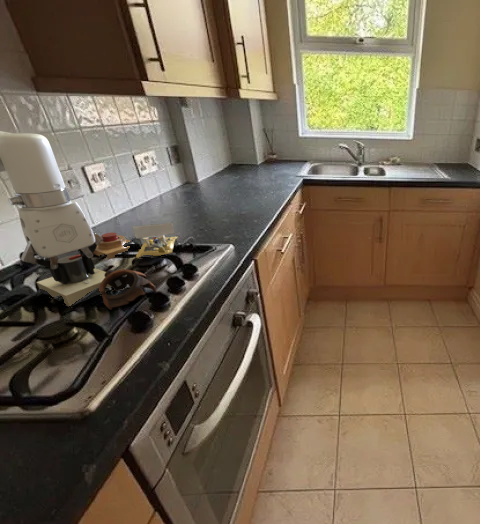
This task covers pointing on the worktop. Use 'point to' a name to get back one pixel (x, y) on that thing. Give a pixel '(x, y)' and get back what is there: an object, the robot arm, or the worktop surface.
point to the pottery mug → (123, 286)
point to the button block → (112, 247)
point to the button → (109, 237)
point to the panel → (72, 287)
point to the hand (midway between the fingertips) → (76, 276)
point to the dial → (74, 268)
